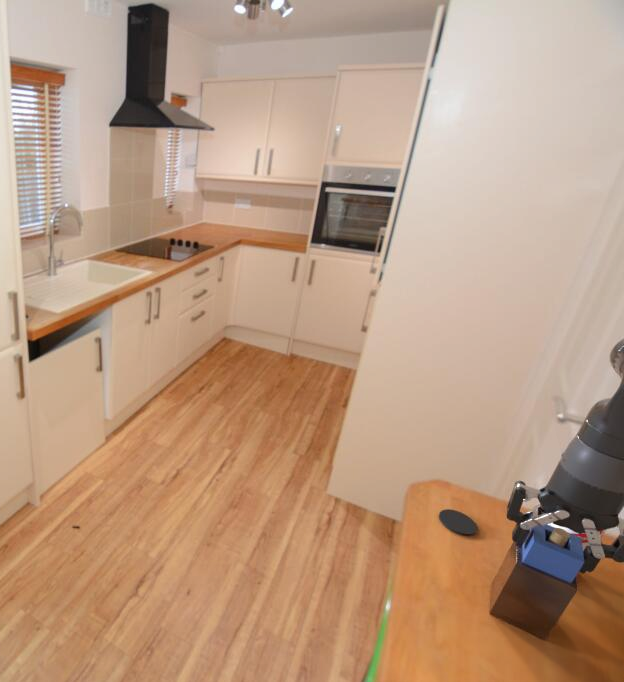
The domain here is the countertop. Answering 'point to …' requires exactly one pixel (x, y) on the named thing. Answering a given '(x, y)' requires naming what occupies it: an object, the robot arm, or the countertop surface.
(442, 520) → the mat
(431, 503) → the countertop surface
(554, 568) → the blue block
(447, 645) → the countertop surface
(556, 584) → the dowel stand
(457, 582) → the countertop surface
